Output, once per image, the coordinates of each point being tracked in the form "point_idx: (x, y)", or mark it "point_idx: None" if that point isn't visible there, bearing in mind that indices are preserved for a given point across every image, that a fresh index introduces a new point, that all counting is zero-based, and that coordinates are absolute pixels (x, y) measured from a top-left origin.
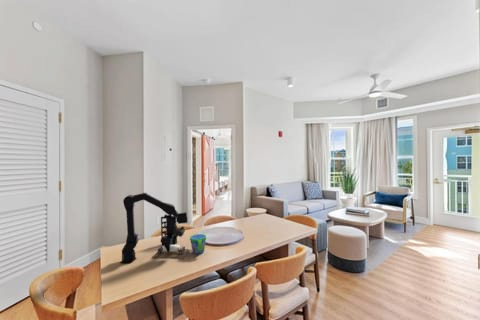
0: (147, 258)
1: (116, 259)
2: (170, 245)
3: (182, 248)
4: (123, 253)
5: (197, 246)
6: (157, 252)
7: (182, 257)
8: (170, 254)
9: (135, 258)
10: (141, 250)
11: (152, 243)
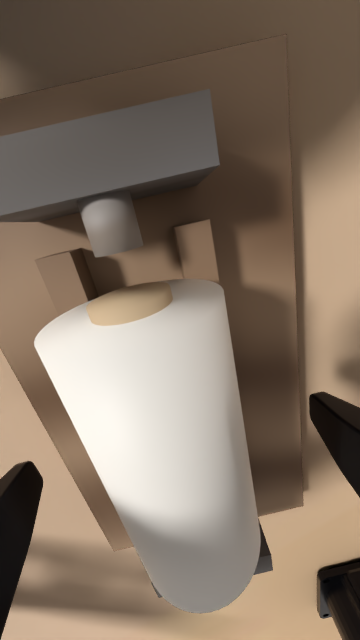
0: (309, 512)
1: (330, 633)
2: (212, 515)
3: (123, 149)
4: None
5: None
6: None
7: (277, 85)
8: (234, 361)
9: (335, 575)
10: (167, 626)
11: None
